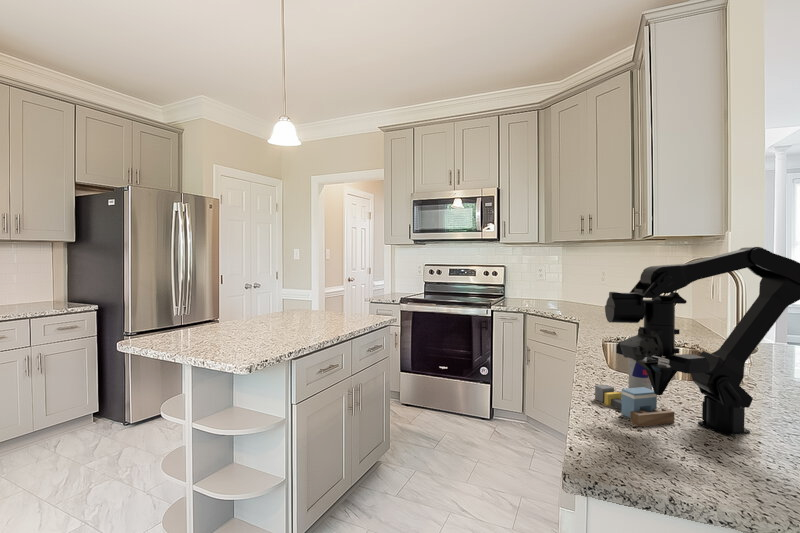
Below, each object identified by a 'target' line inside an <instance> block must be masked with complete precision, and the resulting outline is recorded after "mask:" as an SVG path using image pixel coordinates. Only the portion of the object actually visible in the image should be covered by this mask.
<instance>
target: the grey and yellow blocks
mask: <svg viewBox="0 0 800 533" xmlns="http://www.w3.org/2000/svg"><path fill="white" fill-rule="evenodd" d="M594 389H595V390H594V400H596V401H599V402H601V403H604V405H606V406H608V407H609V406H612V407H614V408H616V409H618V410H620V411H622V394H621V393H622V392H619V391H615V388H614V387H613V386H611V385H608V384H598V385H597V384H596V385H595V386H594ZM640 410H643V411H645V412H647V413H649V411H646V410H644V409H642V408H640Z"/></svg>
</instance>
